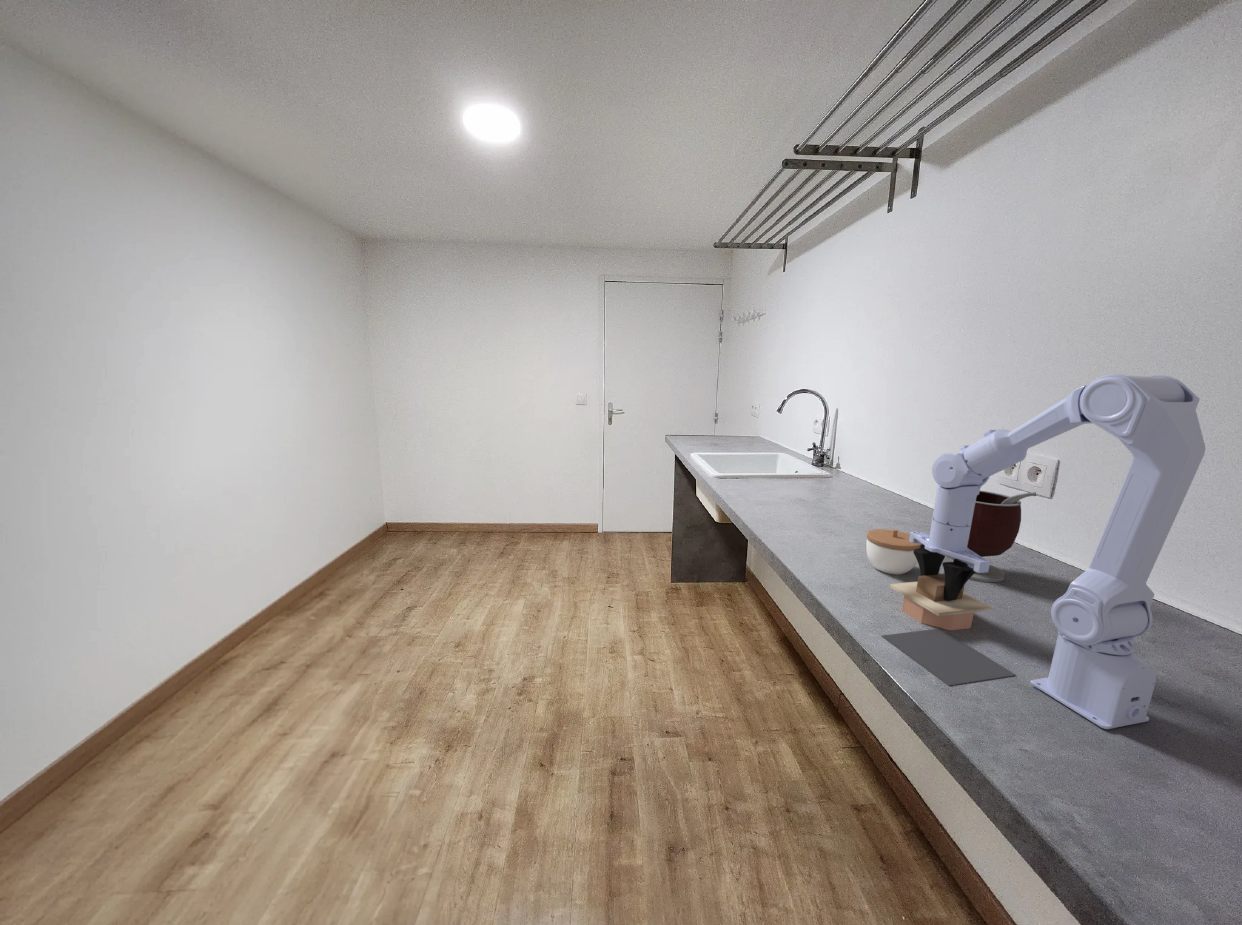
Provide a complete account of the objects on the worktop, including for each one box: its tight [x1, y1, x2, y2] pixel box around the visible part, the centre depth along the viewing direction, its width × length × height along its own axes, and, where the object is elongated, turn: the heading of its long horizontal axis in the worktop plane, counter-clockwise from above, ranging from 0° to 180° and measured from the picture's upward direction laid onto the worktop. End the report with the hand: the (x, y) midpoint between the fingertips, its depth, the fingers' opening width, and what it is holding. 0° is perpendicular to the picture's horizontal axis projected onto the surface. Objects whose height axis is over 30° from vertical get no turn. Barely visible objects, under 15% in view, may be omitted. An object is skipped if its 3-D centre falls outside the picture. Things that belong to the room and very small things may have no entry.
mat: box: [881, 627, 1017, 687], centre depth 77 cm, size 13×12×1 cm
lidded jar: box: [865, 528, 921, 575], centre depth 109 cm, size 11×11×9 cm
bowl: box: [901, 595, 975, 631], centre depth 90 cm, size 10×10×4 cm
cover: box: [889, 573, 993, 616], centre depth 89 cm, size 11×11×4 cm
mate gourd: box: [940, 490, 1037, 583], centre depth 109 cm, size 16×14×20 cm
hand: (938, 593), depth 89 cm, fingers closed on cover, 4 cm apart
